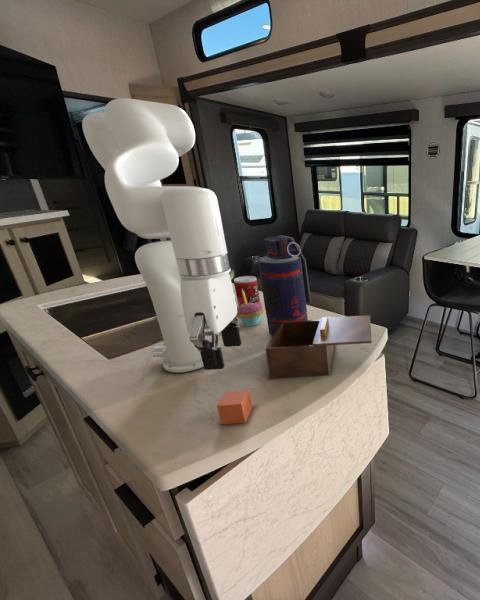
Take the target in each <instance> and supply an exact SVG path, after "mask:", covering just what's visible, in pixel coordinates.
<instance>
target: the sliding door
mask: <svg viewBox="0 0 480 600" xmlns="http://www.w3.org/2000/svg"><path fill="white" fill-rule="evenodd" d="M319 320H320V321H319V325H318V328H317V331H316V334H315V337H314V341H313V344H312V345H313V346H326V345H334V346H345V345H360V344H372V343H373V341H372V340H373V339H372V323H371V315H370V314H368V315H346V316H322V317H320V318H319Z"/></svg>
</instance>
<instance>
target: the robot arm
mask: <svg viewBox="0 0 480 600" xmlns="http://www.w3.org/2000/svg"><path fill="white" fill-rule="evenodd" d="M81 125H82V132H83V135H84V137H85V140H86V142H87V144H88V147H89V149H90V151H91V153H92V155H93V156H94V157H95V159H96V160H97V162H98V163H99V164H100V166H101V167H102V168H103V169H104V171H105V172H104V187H105V190H106V193H107V196H108V198H109V200H110V203H111V205H112V208H113V210H114V212H115V214H116V217H117V218H118V220H119V222H120V223H121V225H122V226H123V227H124V228H125V229H126V230H128V231H129V232H131V233H134V234H135V235H137V236H138V237H139V238H142V239H148V240H153V239H155V240H157V239H167V238H168V239H169V238H170V240H162V241H155V242H149V243H146V244H143V245H141V246H140V247H138V248H137V250H136V251H135V253H134V261H135V265H136V267H137V269H138V271H139V273H140V275H141V276H142V280H143V281H144V283H145V286H146V288H147V291H148V293H149V296H150V299H151V302H152V305H153V309H154V312H155V315H156V319H157V322H158V325H159V329H160V333H161V337H162V340H163V343H164V346H162V345H161V346H160V345H159V346H154V347H153V349H152V357H153V358H163V359H164V360H163V362H162V367H163V369H164V370H165V372H169V373H175V374H176V373H178V374H179V373H188V372H193V371H196V370H199V369H202V368H203V369H204V370H205V371H210V370H211V371H212V370H223V369H224V368H225V366H226V365H225V361H224V356H223V351H222V348H221V347H219V334H221V338H222V343H223V346H224V347H225V348H227V347H228V348H229V347H241V345H242V344H243V343H242V338H241V333H240V329H239V320H238V317H237V307H238V301H237V297H236V293H235V288H234V286H233V282H232V279H231V278H232V277H231V275H230V273H231V272H232V269H231V265H230V259H229V254H228V247H227V243H226V238H225V233H224V228H223V222H222V217H221V212H220V206H219V201H218V198H217V195H216V194H215V192H214V191H213V190H211V189H208V188H204V187H200V186H190V185H186V186H185V185H184V186H182V185H181V186H179V185H178V186H177V185H176V186H174V185H173V186H172V185H167V186H165V185H162V184H161V180H163V179H166V178H168V177H170V175H171V176H172V174H173V173H175V172H176V170H177V168H178V166H179V157H182V156H183V155H185V154H186V153H188V152H189V151H190V150H191V149H192V148H193V147H194V145H195V142H196V132H195V128H194V124H193V122H192V120H191V117H189V115H188V113H186V111H185V110H183V109H182V108H181V107H179V106H177V105H176V104H170V103H163V102H158V101H157V102H156V101H151V100H142V99H136V98H135V99H134V98H129V97H128V98H126V97H125V98H124V97H122V98H116V99H115V98H114V99H112V100H111V101H108V103H107V104H106V105H105V107H104V111H103V112H93V113H89V114H86V115H85V116H84V117H83V118H82V121H81ZM208 330H212V331H208ZM209 337H211V341H210V338H209Z"/></svg>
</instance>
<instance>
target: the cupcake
mask: <svg viewBox="0 0 480 600" xmlns="http://www.w3.org/2000/svg"><path fill="white" fill-rule="evenodd" d="M242 294H243V298H244V301H245V303H244V304H242V305H240V306H237V319H239V320H240V322H241V323H242V325H243V326H244V327H253V326H257V325H258V324H259V322H260V317H261V314H263V313H264V308H263V306H262V305H261V304H260V305H259V304H257V303H247V301H246V297H245V293H244V291H243V289H242Z"/></svg>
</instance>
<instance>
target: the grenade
mask: <svg viewBox="0 0 480 600" xmlns="http://www.w3.org/2000/svg"><path fill="white" fill-rule="evenodd" d="M263 243H264V245H265V248H266V250H267V252H266V253H265V256H262V257H259V258H258V259H257V265H258V271H259V279H260V285H261V291H262V296H263V297H262V298H263V304H264V310H265V315H266V320H267V321H266V322H267V329H268V333H269V335H271V336H272V337H273V336H274V334H275V332H276V330H277V329H278V327H279V325H280V324H281V322H282V321H304V320H309V318H308V313H307V312H308V309H307V303H308V304H312V296H311V289H310V280H309V274H308V273H309V272H308V265H307V260H306V258H305V256H304V255H303V252H302V251H301V246H300V245H299V244H298V243H297V242H296V241H295V239H294V237H291V236H287V235H281V234H280V235H277V236H275V235H274V236H269V237H267V238H263ZM292 252H293V253H292Z"/></svg>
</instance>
